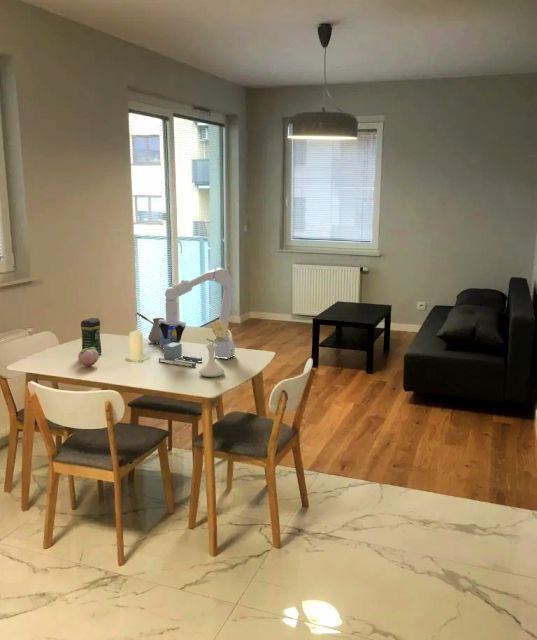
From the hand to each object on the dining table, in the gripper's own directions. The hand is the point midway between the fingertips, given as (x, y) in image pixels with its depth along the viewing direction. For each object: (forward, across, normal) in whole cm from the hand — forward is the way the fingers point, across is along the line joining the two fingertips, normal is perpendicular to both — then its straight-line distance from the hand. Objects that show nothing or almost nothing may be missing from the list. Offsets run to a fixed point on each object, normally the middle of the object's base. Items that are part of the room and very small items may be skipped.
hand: (172, 339), depth 299 cm
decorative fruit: (+10, -26, -30) cm, 41 cm away
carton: (+10, 0, 0) cm, 10 cm away
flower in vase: (+10, +32, -14) cm, 36 cm away
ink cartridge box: (+10, -14, +18) cm, 24 cm away
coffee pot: (+10, -30, +24) cm, 39 cm away
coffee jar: (+10, -39, -14) cm, 42 cm away
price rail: (+9, +8, -4) cm, 13 cm away
